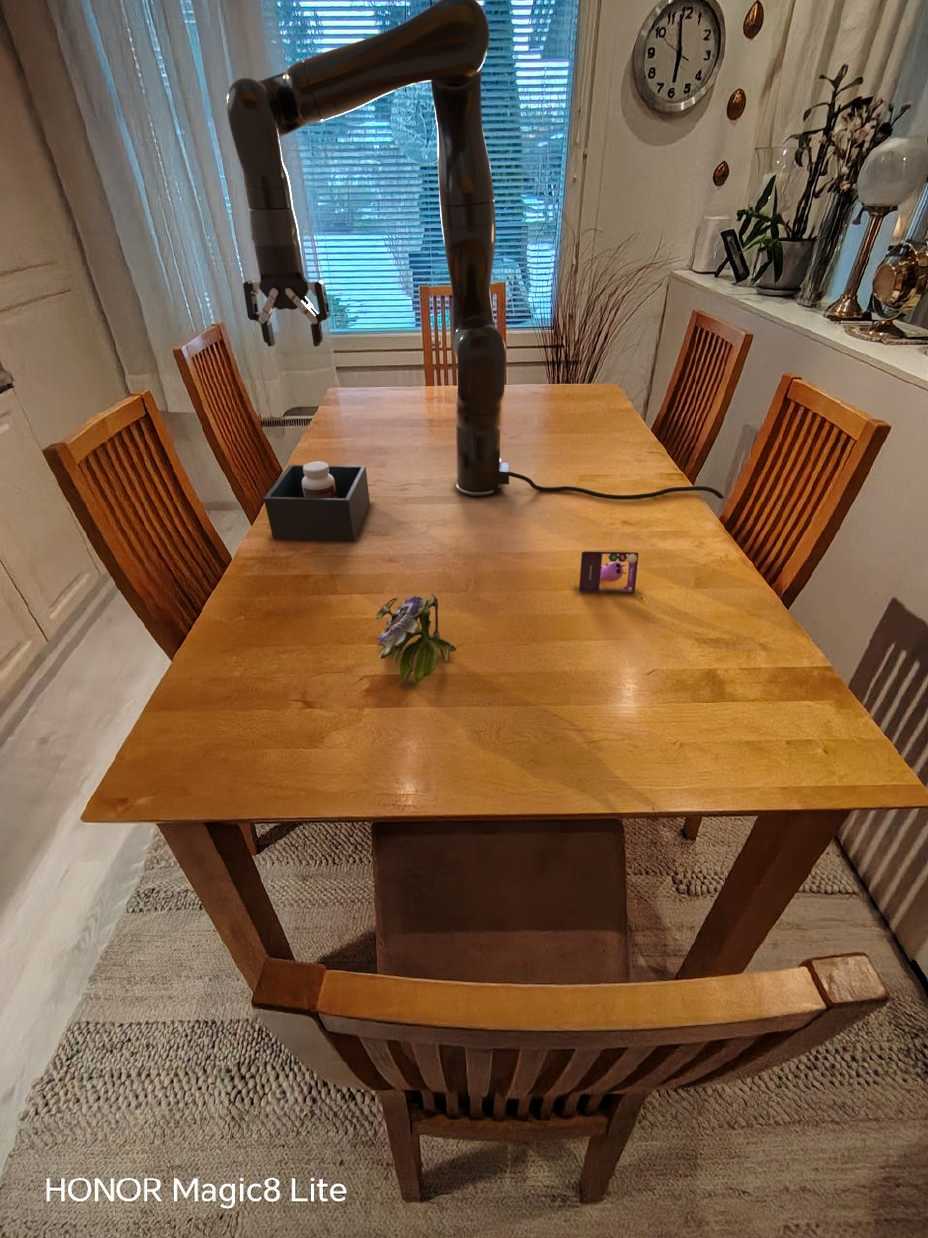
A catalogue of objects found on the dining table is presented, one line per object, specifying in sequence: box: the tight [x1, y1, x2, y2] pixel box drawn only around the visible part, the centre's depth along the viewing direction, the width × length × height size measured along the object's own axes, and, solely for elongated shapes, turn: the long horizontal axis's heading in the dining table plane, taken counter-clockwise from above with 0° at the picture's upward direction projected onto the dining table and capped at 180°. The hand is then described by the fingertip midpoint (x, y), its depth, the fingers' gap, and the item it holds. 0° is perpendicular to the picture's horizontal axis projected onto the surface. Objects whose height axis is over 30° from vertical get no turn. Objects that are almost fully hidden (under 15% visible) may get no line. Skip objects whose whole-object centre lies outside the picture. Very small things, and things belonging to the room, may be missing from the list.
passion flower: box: [375, 593, 457, 686], centre depth 82 cm, size 11×11×12 cm
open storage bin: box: [263, 464, 371, 543], centre depth 115 cm, size 16×16×8 cm
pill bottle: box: [302, 461, 337, 498], centre depth 114 cm, size 6×6×11 cm
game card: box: [578, 550, 640, 594], centre depth 97 cm, size 7×5×9 cm
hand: (294, 345), depth 108 cm, fingers open, 8 cm apart
